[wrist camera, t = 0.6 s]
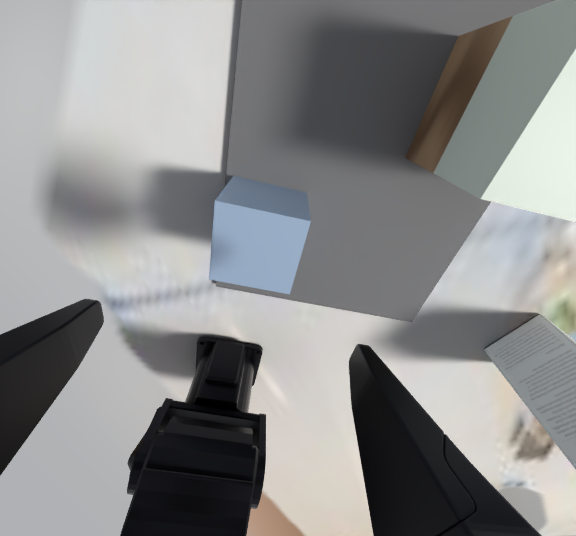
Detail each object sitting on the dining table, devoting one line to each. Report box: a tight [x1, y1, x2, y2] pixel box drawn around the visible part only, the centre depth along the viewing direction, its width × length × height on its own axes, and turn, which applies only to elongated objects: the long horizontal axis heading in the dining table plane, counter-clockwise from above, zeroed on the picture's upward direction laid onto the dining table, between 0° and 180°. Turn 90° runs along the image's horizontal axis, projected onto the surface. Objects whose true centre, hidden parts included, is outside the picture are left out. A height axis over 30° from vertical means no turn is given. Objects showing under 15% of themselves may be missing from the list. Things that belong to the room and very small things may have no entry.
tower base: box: [405, 16, 513, 173], centre depth 14 cm, size 6×6×4 cm
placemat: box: [216, 0, 555, 322], centre depth 17 cm, size 24×18×1 cm
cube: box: [209, 176, 311, 294], centre depth 17 cm, size 5×5×5 cm
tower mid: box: [434, 0, 576, 222], centre depth 10 cm, size 6×6×4 cm
